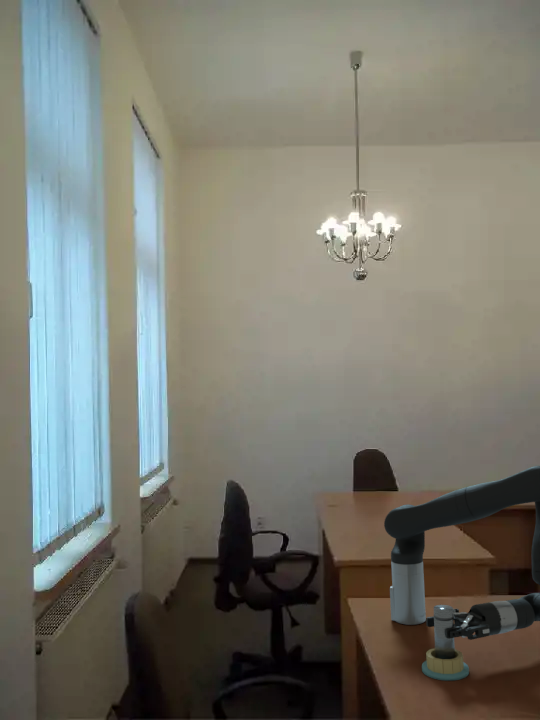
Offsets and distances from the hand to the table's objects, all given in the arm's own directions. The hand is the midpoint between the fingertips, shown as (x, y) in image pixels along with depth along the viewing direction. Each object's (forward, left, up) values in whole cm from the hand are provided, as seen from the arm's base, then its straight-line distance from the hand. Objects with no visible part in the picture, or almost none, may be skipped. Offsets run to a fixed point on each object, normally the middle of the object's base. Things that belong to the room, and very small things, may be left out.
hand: (436, 628), depth 169 cm
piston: (+1, +2, -10) cm, 10 cm away
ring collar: (+1, +2, -10) cm, 11 cm away
